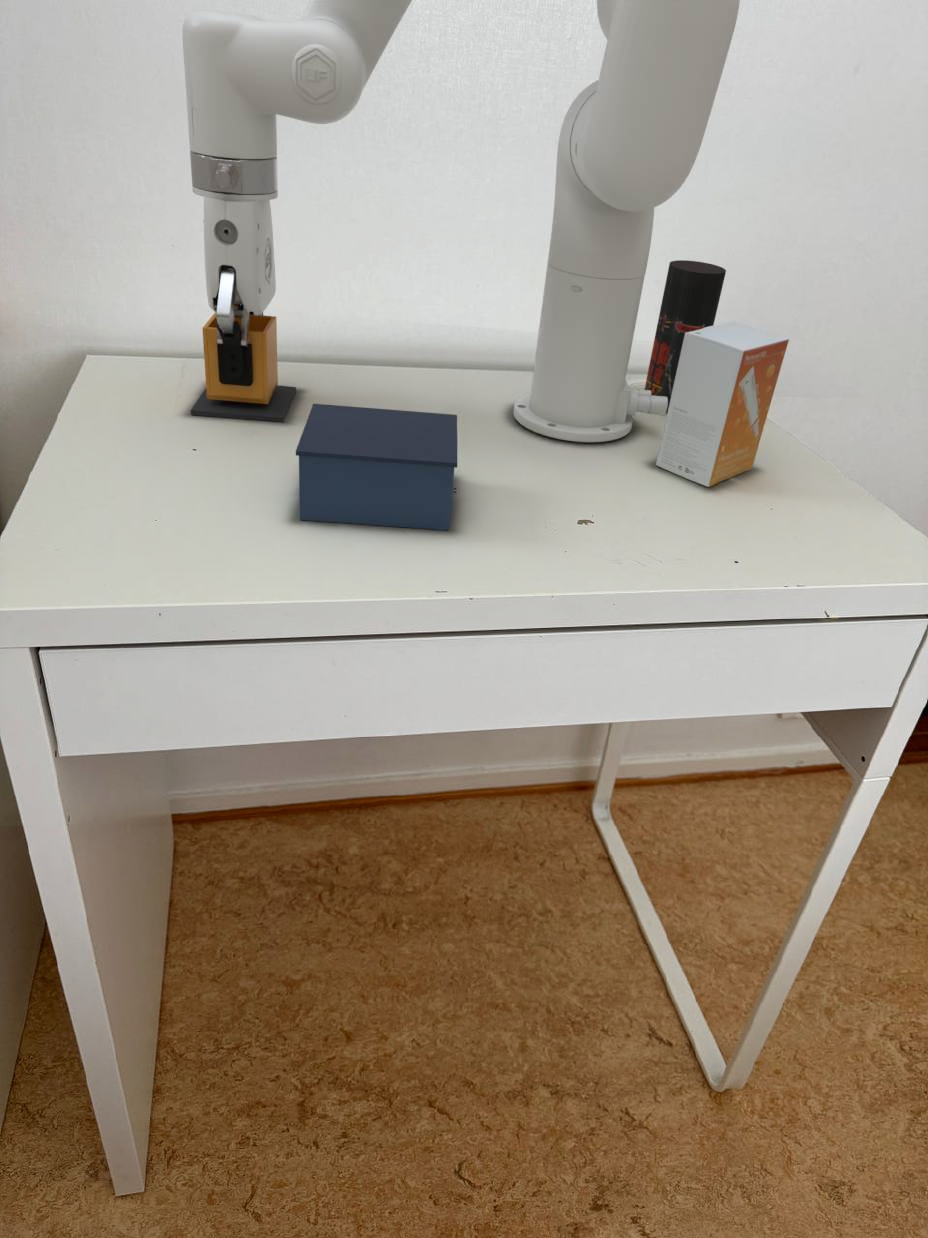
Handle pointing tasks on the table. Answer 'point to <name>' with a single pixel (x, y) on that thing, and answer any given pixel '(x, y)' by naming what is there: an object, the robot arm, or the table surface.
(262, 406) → the rubber mat
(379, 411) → the storage tub
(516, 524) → the table surface
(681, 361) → the small box
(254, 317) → the amber container
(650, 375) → the deodorant
